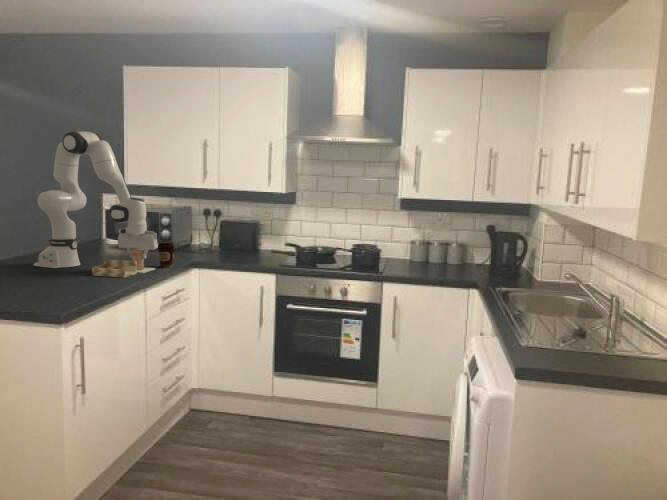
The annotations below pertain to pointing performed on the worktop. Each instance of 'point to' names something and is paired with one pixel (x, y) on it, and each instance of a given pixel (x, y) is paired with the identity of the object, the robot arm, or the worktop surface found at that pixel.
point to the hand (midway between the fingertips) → (137, 257)
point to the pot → (138, 258)
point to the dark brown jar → (166, 254)
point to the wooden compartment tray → (115, 268)
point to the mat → (145, 270)
